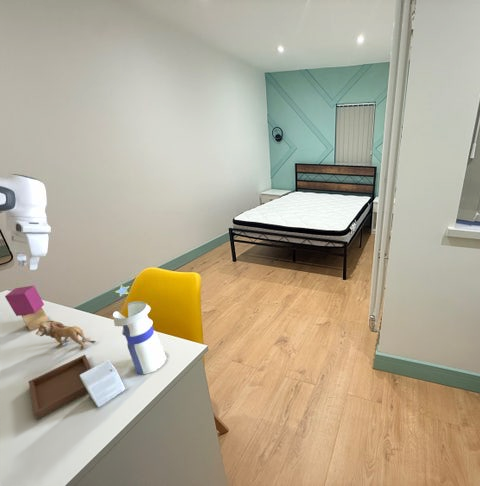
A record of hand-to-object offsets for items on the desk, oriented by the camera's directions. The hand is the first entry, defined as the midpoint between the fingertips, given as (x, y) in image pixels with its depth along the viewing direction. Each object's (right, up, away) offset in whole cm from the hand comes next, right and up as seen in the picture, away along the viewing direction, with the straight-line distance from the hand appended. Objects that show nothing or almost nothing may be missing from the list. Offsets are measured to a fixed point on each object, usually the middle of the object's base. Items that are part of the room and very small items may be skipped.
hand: (27, 267), depth 86 cm
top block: (-3, -15, +4) cm, 16 cm away
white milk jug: (+47, -27, -10) cm, 55 cm away
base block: (-3, -21, +6) cm, 22 cm away
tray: (+29, -30, -17) cm, 45 cm away
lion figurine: (+17, -25, -3) cm, 30 cm away
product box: (+42, -31, -18) cm, 55 cm away
